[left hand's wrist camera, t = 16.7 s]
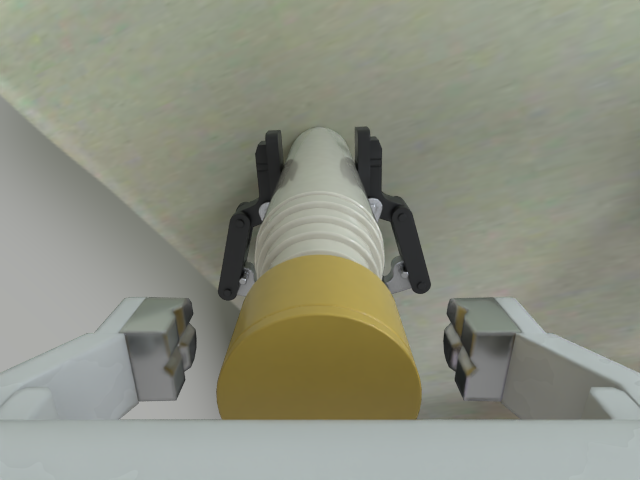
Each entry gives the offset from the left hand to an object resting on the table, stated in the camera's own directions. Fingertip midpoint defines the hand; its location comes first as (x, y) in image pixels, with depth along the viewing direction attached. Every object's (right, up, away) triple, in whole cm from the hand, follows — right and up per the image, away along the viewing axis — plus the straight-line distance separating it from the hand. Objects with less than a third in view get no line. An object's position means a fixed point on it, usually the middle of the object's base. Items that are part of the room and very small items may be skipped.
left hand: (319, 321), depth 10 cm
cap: (0, -1, -2) cm, 2 cm away
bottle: (0, +8, +20) cm, 21 cm away
